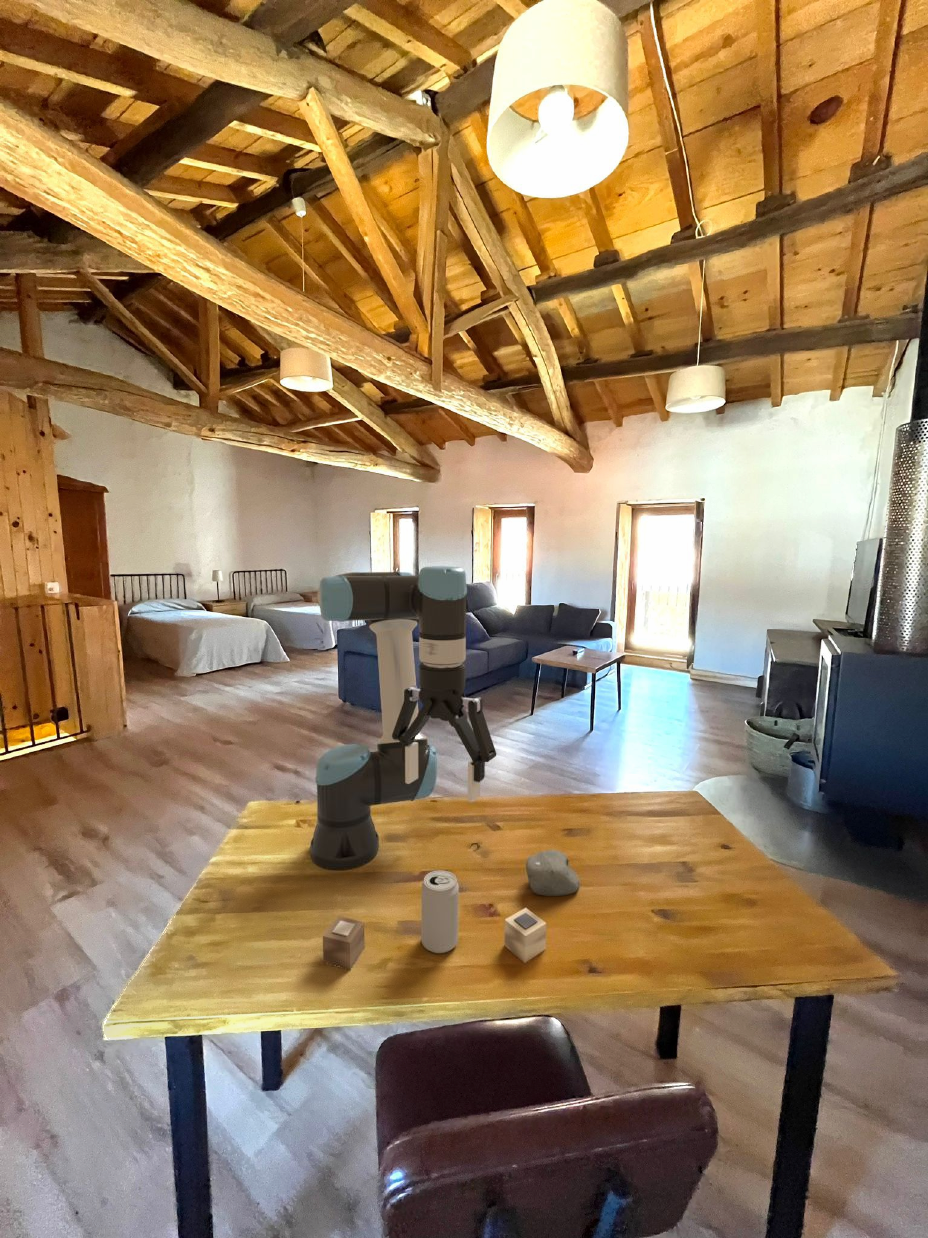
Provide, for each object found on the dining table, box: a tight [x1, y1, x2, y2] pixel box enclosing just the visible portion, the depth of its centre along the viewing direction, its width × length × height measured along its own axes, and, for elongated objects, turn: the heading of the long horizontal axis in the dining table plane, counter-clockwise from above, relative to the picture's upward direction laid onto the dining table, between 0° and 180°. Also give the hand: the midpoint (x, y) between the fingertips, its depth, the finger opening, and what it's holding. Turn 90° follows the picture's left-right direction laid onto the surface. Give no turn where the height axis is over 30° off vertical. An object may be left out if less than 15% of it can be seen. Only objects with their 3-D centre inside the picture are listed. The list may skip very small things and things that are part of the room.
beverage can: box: [420, 869, 460, 954], centre depth 93 cm, size 6×6×12 cm
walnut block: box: [322, 915, 366, 971], centre depth 91 cm, size 5×5×5 cm
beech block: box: [503, 907, 547, 964], centre depth 93 cm, size 5×5×5 cm
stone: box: [525, 849, 581, 897], centre depth 110 cm, size 9×9×10 cm
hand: (441, 789), depth 90 cm, fingers open, 12 cm apart
